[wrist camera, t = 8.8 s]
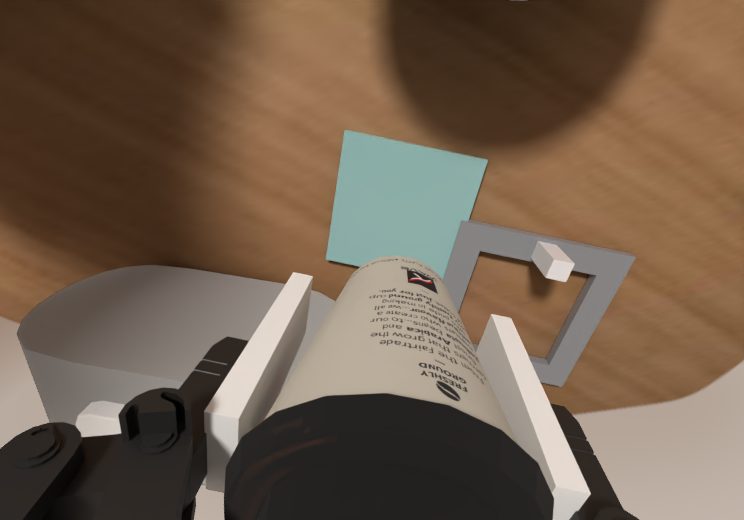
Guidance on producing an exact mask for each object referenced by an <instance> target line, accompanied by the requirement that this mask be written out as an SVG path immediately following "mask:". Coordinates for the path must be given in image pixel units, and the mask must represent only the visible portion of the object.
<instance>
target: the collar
mask: <svg viewBox="0 0 744 520" xmlns="http://www.w3.org/2000/svg"><path fill="white" fill-rule="evenodd" d="M480 251H482V252H487V253H492V254H497V255H501V256H506V257H511V258H516V259H520V260H525V261H530V262H534V263H535V264H536V266H537V267H538V268H539V270H540V271H541V272H542V274H543V275H544V276H545V278H549V279H554V280H559V281H563V282H566V281H567V279H568V277H569V275H570V273H571V271H572V270H573V271H578V272H582V273H587V274H590V275H589V277H588V279H587V281H586V283H585V285H584V286H583V288H582V290H581V292H580V294H579V296H578V298H577V300H576V302H575V304H574V306H573V308H572V310H571V311H570V313H569V315H568V317H567V319H566V321H565V323H564V325H563V327H562V329H561V331H560V333H559V335H558V336H557V338H556V340H555V342H554V344H553V346H552V348H551V350H550V352H549V354H548V356H547V358H546V359H543V358H538V357H534V356H529V355H528V357H529V359H530V361H531V363H532V365H533V368H534V370H535V372H536V374H537V376H538V379H539V381H540V382H541V383H546V384H551V385H556V386H560V387H562V386H563V384H564V383H565V381H566V379H567V377H568V376H569V374H570V372H571V370H572V369H573V367H574V365H575V363H576V362H577V360H578V358H579V356H580V355H581V353H582V351H583V349H584V348H585V346H586V344H587V342H588V341H589V339H590V337H591V335H592V334H593V332H594V330H595V328H596V327H597V325H598V323H599V321H600V320H601V318H602V316H603V314H604V313H605V311H606V309H607V307H608V306H609V304H610V302H611V300H612V299H613V297H614V295H615V293H616V292H617V290H618V288H619V286H620V285H621V283H622V281H623V279H624V278H625V276H626V274H627V272H628V270H629V269H630V267H631V265H632V263H633V262H634V260H635V258H636V257H635V256H633V255H632V254H630V253H627V252H622V251H618V250H613V249H608V248H603V247H598V246H594V245H589V244H584V243H579V242H575V241H570V240H565V239H560V238H556V237H551V236H546V235H541V234H537V233H532V232H527V231H522V230H517V229H513V228H508V227H503V226H498V225H494V224H489V223H484V222H479V221H475V220H470V219H469V221H463V220H461V223H460V227H459V230H458V233H457V236H456V239H455V242H454V246H453V249H452V252H451V255H450V258H449V261H448V265H447V268H446V271H445V274H444V277H443V282H444V284H445V286H446V288H447V290H448V292H449V294H450V297H451V299H452V301H453V303H454V305H455V308H456V310H457V312H459V309H460V306H461V303H462V301H463V298H464V295H465V292H466V289H467V286H468V284H469V281H470V278H471V275H472V272H473V269H474V267H475V264H476V261H477V258H478V255H479V253H480ZM472 345H473V347H474V349H475V352H476V351H477V348H478V346H479V345H477V344H472Z"/></svg>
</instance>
